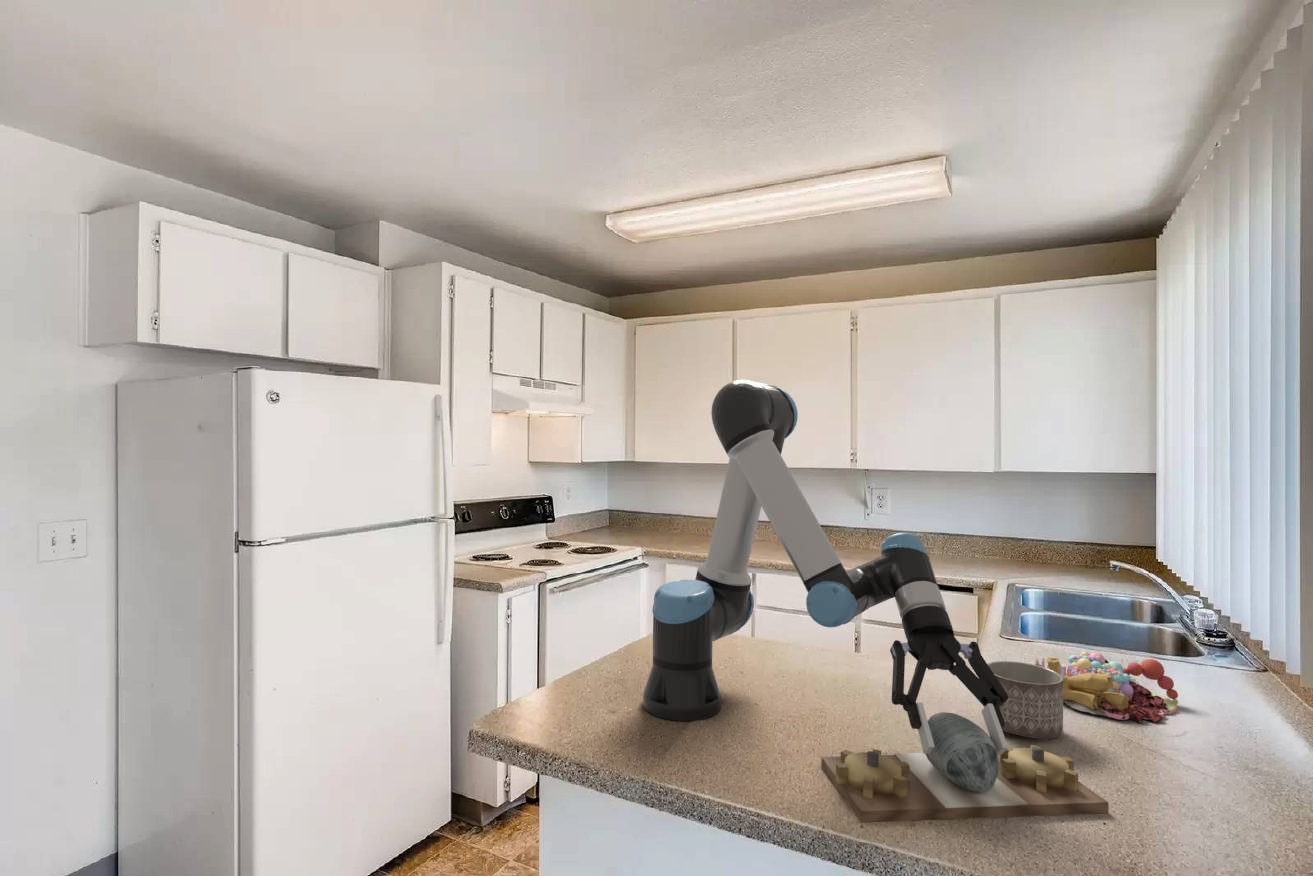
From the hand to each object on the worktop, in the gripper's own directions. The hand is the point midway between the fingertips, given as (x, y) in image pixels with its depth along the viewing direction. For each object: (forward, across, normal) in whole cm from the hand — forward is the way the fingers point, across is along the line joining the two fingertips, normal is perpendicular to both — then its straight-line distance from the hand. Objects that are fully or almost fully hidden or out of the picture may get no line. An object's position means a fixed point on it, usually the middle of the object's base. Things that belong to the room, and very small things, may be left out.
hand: (965, 751), depth 98 cm
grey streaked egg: (+2, 0, -6) cm, 6 cm away
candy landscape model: (-23, -47, -34) cm, 62 cm away
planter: (-13, -22, -23) cm, 34 cm away
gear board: (+3, 0, -7) cm, 8 cm away
